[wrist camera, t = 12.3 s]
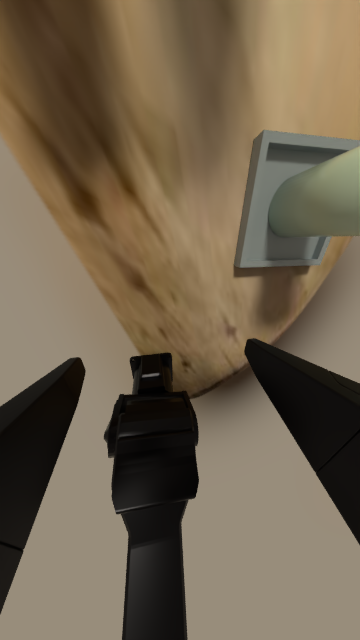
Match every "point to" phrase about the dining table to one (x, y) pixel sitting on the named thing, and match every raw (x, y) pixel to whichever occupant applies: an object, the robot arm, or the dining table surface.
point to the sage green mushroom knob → (320, 200)
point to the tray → (263, 181)
